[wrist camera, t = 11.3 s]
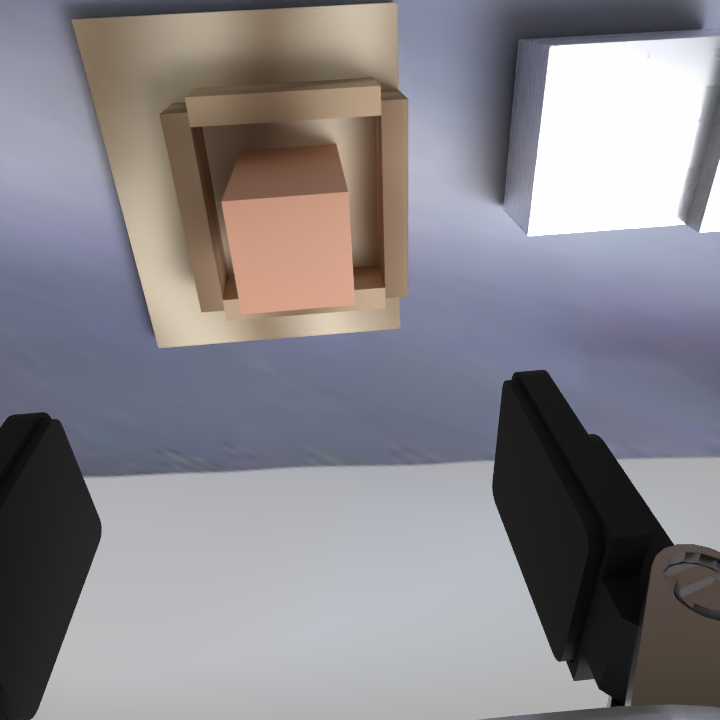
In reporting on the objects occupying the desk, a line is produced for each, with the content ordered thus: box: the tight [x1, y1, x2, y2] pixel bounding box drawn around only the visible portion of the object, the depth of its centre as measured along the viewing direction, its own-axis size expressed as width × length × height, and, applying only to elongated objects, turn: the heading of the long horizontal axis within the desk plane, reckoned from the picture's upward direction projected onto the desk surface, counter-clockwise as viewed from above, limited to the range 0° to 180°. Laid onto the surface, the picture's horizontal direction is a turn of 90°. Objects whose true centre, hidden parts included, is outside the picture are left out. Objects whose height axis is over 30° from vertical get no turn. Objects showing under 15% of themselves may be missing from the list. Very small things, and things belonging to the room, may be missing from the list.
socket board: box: [72, 2, 408, 348], centre depth 25 cm, size 12×14×4 cm
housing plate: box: [503, 29, 720, 236], centre depth 24 cm, size 8×7×4 cm
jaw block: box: [221, 144, 355, 315], centre depth 22 cm, size 4×4×7 cm
